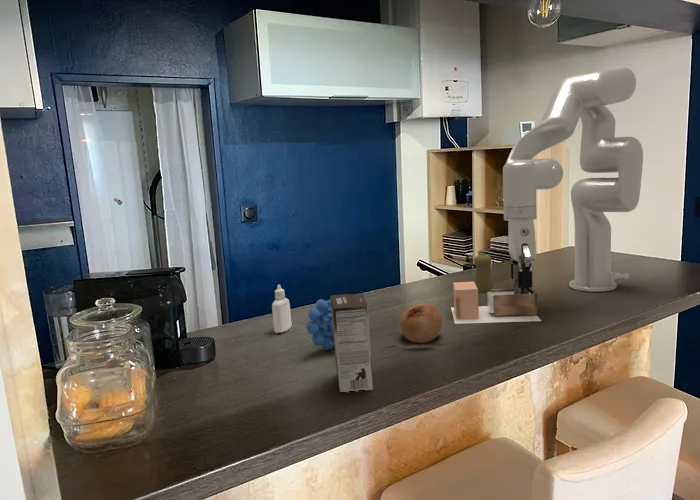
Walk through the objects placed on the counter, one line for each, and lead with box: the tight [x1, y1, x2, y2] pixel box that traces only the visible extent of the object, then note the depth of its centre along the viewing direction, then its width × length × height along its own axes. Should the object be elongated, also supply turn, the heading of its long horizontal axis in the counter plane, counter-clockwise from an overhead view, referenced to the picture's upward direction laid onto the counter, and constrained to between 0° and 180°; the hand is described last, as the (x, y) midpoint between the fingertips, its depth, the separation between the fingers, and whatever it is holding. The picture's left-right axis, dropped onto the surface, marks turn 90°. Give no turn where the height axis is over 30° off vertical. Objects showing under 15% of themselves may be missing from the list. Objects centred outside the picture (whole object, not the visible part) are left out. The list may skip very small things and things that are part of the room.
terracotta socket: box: [452, 281, 479, 320], centre depth 131 cm, size 5×8×8 cm, turn 173°
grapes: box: [306, 298, 334, 350], centre depth 115 cm, size 12×7×12 cm, turn 138°
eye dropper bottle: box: [271, 284, 293, 333], centre depth 132 cm, size 4×6×12 cm
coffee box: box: [329, 293, 374, 393], centre depth 97 cm, size 9×6×16 cm
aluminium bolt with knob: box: [486, 263, 531, 313], centre depth 129 cm, size 10×4×11 cm, turn 83°
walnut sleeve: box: [491, 287, 538, 317], centre depth 129 cm, size 10×6×6 cm, turn 83°
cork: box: [473, 254, 495, 295], centre depth 155 cm, size 6×6×11 cm
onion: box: [399, 302, 443, 344], centre depth 117 cm, size 10×9×10 cm
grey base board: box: [450, 305, 542, 325], centre depth 130 cm, size 20×14×1 cm
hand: (521, 282), depth 128 cm, fingers open, 8 cm apart
